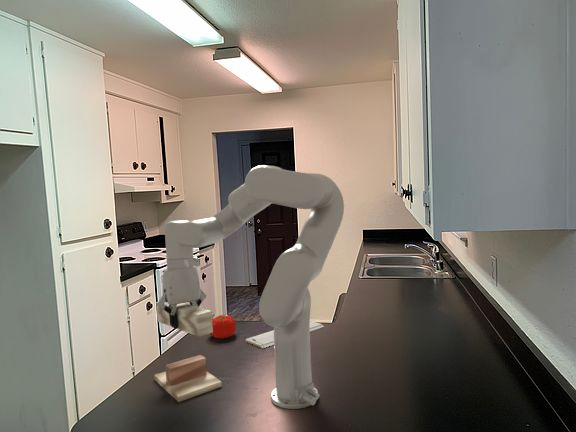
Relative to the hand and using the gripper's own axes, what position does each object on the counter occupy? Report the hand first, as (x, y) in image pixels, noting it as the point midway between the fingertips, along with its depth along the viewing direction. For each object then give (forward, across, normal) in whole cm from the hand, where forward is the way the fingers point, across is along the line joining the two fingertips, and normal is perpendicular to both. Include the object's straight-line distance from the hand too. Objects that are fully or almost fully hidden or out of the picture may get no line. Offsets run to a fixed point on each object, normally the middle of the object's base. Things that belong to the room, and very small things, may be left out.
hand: (183, 324), depth 123 cm
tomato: (+18, -27, -28) cm, 43 cm away
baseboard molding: (+18, -46, -12) cm, 51 cm away
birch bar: (+1, 0, 0) cm, 1 cm away
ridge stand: (+17, 0, 0) cm, 17 cm away
